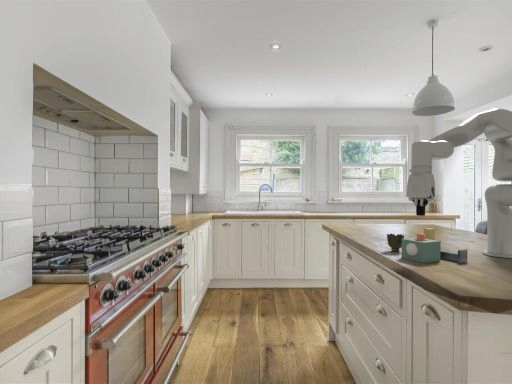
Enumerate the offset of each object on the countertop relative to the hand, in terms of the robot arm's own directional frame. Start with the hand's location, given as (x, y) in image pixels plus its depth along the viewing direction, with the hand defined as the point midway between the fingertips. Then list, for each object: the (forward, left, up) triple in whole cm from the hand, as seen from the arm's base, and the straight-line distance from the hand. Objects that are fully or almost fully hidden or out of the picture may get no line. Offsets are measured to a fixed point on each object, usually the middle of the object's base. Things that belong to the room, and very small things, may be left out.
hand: (420, 215), depth 123 cm
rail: (-11, +1, -18) cm, 21 cm away
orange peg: (0, 0, -15) cm, 15 cm away
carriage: (-11, -4, -18) cm, 22 cm away
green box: (0, 0, -18) cm, 18 cm away
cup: (-4, -16, -18) cm, 25 cm away
